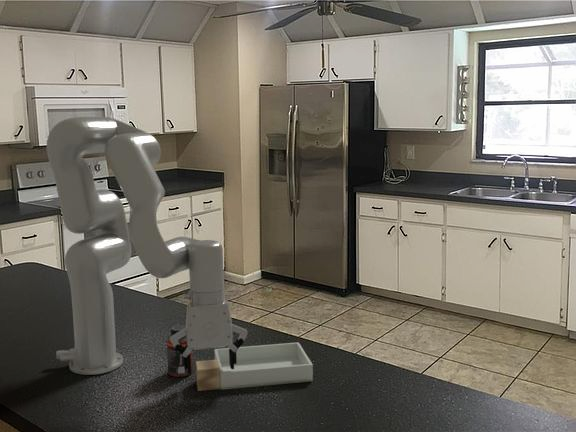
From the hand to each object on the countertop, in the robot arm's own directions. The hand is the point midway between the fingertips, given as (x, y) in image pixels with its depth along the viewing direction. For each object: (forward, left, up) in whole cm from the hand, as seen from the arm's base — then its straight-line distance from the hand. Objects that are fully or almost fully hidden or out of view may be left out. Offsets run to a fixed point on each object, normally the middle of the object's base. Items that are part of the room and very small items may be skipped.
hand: (210, 369), depth 140 cm
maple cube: (-1, 0, -4) cm, 4 cm away
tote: (+13, +4, -4) cm, 14 cm away
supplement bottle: (-6, +8, -4) cm, 11 cm away
